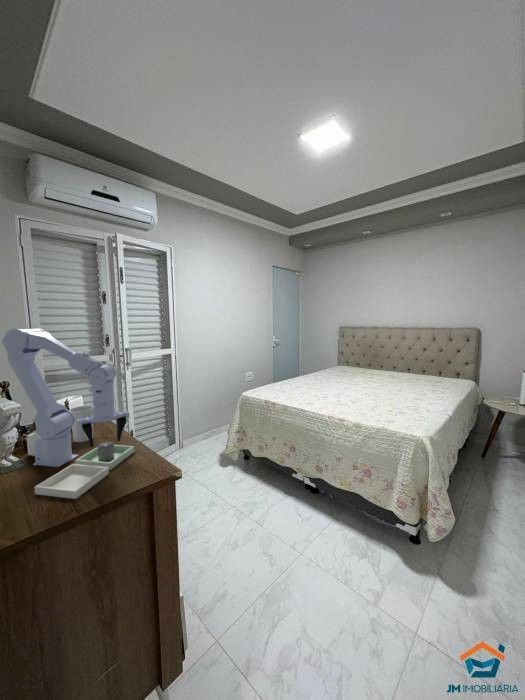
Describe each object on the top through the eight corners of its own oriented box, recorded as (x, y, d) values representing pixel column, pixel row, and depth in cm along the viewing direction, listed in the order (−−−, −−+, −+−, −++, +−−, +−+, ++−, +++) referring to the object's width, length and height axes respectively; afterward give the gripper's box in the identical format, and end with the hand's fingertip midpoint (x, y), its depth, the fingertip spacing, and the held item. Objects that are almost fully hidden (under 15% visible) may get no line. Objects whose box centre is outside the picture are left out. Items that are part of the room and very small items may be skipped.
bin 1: (35, 496, 72) (34, 486, 72) (73, 471, 84) (72, 463, 84) (75, 501, 70) (75, 491, 70) (108, 475, 82) (108, 467, 82)
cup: (66, 440, 106) (64, 410, 105) (86, 433, 113) (84, 404, 112) (80, 444, 103) (78, 413, 102) (100, 436, 110) (98, 407, 109)
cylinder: (94, 461, 89) (94, 446, 89) (106, 455, 93) (106, 440, 93) (106, 463, 88) (105, 448, 87) (117, 457, 92) (117, 442, 92)
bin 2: (75, 468, 86) (75, 460, 86) (103, 450, 98) (103, 443, 98) (110, 471, 84) (110, 463, 84) (134, 453, 96) (134, 446, 96)
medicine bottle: (44, 457, 93) (42, 423, 91) (27, 455, 94) (24, 421, 93) (64, 448, 100) (61, 416, 98) (47, 446, 101) (45, 414, 100)
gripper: (77, 409, 82) (79, 453, 83) (130, 401, 90) (132, 441, 92) (76, 403, 87) (78, 445, 89) (126, 397, 96) (127, 434, 97)
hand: (105, 443), depth 90 cm, fingers open, 7 cm apart
